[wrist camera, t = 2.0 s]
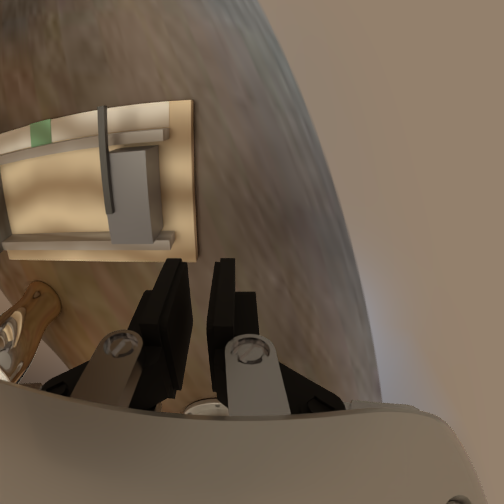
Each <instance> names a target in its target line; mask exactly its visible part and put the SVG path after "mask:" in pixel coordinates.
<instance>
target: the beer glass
mask: <svg viewBox="0 0 504 504" xmlns="http://www.w3.org/2000/svg"><path fill="white" fill-rule="evenodd" d="M60 312H61V303H60V300H59V297H58V296H57V294H56V293H55V291H54V290H53V289H52V288H51V287H50V286H48V285H47V284H45V283H43V282H40V281H35V282H32V283H31V284H30V285H29V286H28V288H27V289H26V291H25V293H24V295H23V296H22V298H21V299H20V300H19V301H18V302H17V303H16V304H15V305H13V306H12V307H11V308H9V309H8V310H6V311H5V312H4V313H2V314H1V315H0V379H1V380H4V381H8V382H12V383H16V384H18V383H19V382H20V380H21V379H22V377H23V376H24V374H25V373H26V371H27V370H28V368H29V366H30V364H31V362H32V361H33V358H34V356H35V354H36V351H37V349H38V346H39V343H40V341H41V338H42V336H43V333H44V331H45V329H46V327H47V326H48V325H49V324H50V323H51V322H52V321H53V320H54V319H55V318H56V317H57V316H58V315H59V314H60Z"/></svg>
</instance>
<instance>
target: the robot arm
mask: <svg viewBox="0 0 504 504" xmlns="http://www.w3.org/2000/svg"><path fill="white" fill-rule="evenodd" d="M192 326H193V316H192V307H191V298H190V288H189V278H188V267H187V262H182V259H181V258H167V259H166V261H165V263H164V265H163V268H162V270H161V272H160V274H159V276H158V279H157V281H156V283H155V286H154V288H153V290H146V291H145V292H144V294H143V296H142V298H141V300H140V302H139V305H138V307H137V309H136V311H135V314H134V316H133V318H132V320H131V323H130V325H129V327H128V330H118V331H114V332H112V333H109V334H108V335H106V336H105V337H104V338H103V339H102V340H101V341H100V343H99V345H98V347H97V348H96V350H95V352H94V354H93V355H92V357H91V359H90V360H89V361H87V362H85V363H83V364H81V365H79V366H77V367H75V368H73V369H71V370H69V371H67V372H64V373H62V374H60V375H58V376H56V377H54V378H52V379H50V380H49V381H47V382H46V383H45V384H44V385H42V384H41V383H26V384H25V383H22V384H16V383H12V382H8V381H4V380H1V379H0V504H488V503H487V500H486V497H485V494H484V492H483V489H482V486H481V483H480V481H479V478H478V476H477V474H476V471H475V469H474V467H473V465H472V463H471V460H470V458H469V456H468V454H467V452H466V450H465V449H464V447H463V445H462V443H461V442H460V440H459V439H458V437H457V436H456V434H455V432H454V431H453V430H452V429H451V427H450V426H449V425H448V424H447V423H446V422H445V421H443V420H442V419H441V418H439V417H437V416H435V415H433V414H430V413H427V412H423V411H420V410H419V409H417V408H415V407H414V406H410V405H404V404H390V403H378V402H368V401H359V400H351V403H347V402H342V400H341V399H340V398H339V397H338V396H336V395H335V394H333V393H332V392H330V391H328V390H326V389H324V388H323V387H321V386H319V385H317V384H316V383H314V382H312V381H310V380H309V379H307V378H305V377H303V376H302V375H300V374H298V373H297V372H295V371H293V370H292V369H290V368H288V367H287V366H285V365H283V364H282V363H280V362H278V358H277V354H276V350H275V347H274V345H273V343H272V342H271V341H270V340H269V339H267V338H265V337H263V336H260V335H259V326H258V315H257V303H256V293H255V292H235V258H221V260H220V262H215V266H214V273H213V279H212V286H211V293H210V301H209V308H208V315H207V328H206V329H207V343H208V353H209V363H210V372H211V381H212V390H213V392H217V399H206V400H201V401H198V402H195V403H193V404H191V405H189V406H188V407H187V408H186V409H185V410H184V413H183V414H177V413H166V412H161V408H162V403H161V402H162V401H163V400H165V399H166V398H173V399H175V395H176V390H181V389H182V384H183V378H184V372H185V366H186V360H187V354H188V348H189V343H190V337H191V332H192Z"/></svg>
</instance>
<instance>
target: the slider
mask: <svg viewBox="0 0 504 504" xmlns="http://www.w3.org/2000/svg"><path fill="white" fill-rule="evenodd" d="M97 115H98V140H99V155H100V167H101V178H102V187H103V196H104V204H105V211H106V214H107V218H108V225H109V231H110V237H111V243H112V244H153V243H154V242H155V240H156V238H157V237H158V235H159V234H160V232H161V230H162V229H163V215H162V203H161V189H160V172H159V151H158V145H150V146H137V147H126V148H118V149H115V150H112V151H109V146H108V126H107V106H100V107H97Z"/></svg>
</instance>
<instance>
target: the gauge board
mask: <svg viewBox="0 0 504 504" xmlns="http://www.w3.org/2000/svg"><path fill="white" fill-rule="evenodd" d="M107 126H108V146H109V151H112V150H115V149H118V148H126V147H137V146H150V145H158V151H159V172H160V189H161V203H162V215H163V229H162V230H161V232H160V234H159V235H158V237H157V238H156V240H155V242H154V243H153V244H112V243H111V237H110V231H109V225H108V218H107V214H106V211H105V204H104V196H103V187H102V178H101V167H100V155H99V140H98V115H97V110H95V111H90V112H85V113H79V114H74V115H70V116H65V117H61V118H56V119H52V120H51V119H48V120H44V121H40V122H36V123H33V124H30V125H29V126H25V127H22V128H18V129H15V130H12V131H9V132H5V133H2V134H0V253H1V252H2V251H3V250H7V252H8V255H9V259H15V260H60V261H121V262H165V261H166V259H167V258H181V259H182V262H196V261H197V258H198V247H197V229H196V208H195V181H194V101H193V100H181V101H166V102H155V103H145V104H136V105H128V106H121V107H114V108H108V109H107Z"/></svg>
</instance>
